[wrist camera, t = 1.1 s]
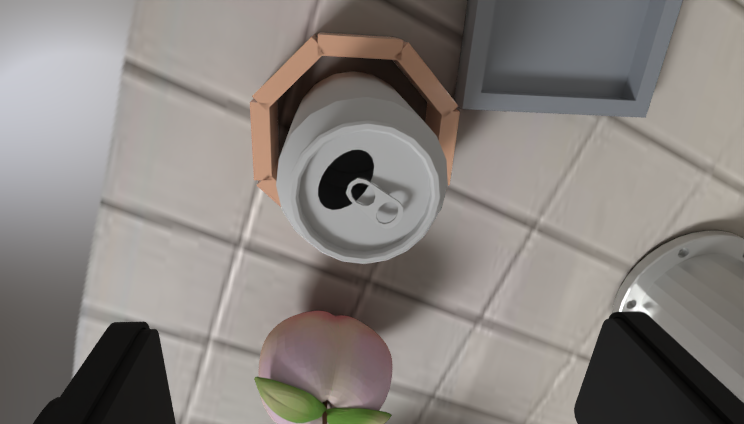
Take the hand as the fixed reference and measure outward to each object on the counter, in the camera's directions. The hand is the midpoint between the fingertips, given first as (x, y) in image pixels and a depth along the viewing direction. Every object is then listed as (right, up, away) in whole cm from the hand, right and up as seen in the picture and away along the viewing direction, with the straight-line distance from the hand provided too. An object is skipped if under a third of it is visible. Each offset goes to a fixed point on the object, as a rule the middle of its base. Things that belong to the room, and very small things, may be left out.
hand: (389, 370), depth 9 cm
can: (-2, +9, +19) cm, 21 cm away
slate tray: (+11, +16, +17) cm, 26 cm away
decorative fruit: (-4, -6, +25) cm, 26 cm away
